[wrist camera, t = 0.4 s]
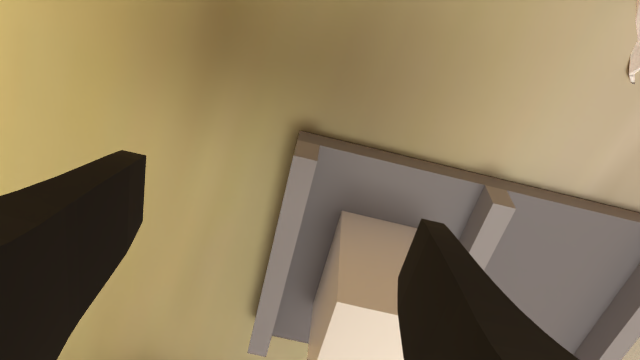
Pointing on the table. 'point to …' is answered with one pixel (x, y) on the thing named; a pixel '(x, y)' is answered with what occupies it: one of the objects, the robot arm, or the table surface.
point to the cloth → (635, 49)
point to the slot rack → (473, 233)
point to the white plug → (360, 292)
